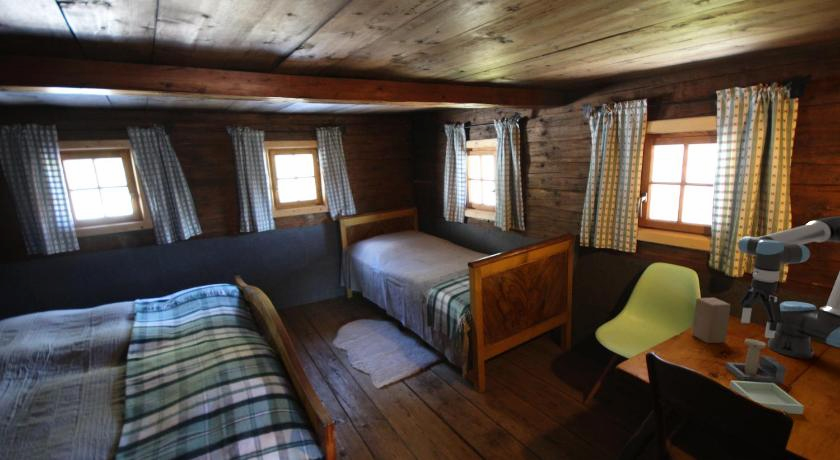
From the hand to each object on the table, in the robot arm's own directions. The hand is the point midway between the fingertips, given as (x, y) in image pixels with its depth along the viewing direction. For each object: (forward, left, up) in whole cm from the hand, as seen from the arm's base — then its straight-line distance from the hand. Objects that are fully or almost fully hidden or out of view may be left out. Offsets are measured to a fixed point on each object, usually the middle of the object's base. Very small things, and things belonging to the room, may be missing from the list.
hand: (756, 329), depth 153 cm
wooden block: (-2, -33, -20) cm, 39 cm away
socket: (-2, 0, -20) cm, 20 cm away
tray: (+6, +17, -20) cm, 27 cm away
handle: (0, 0, -20) cm, 21 cm away
